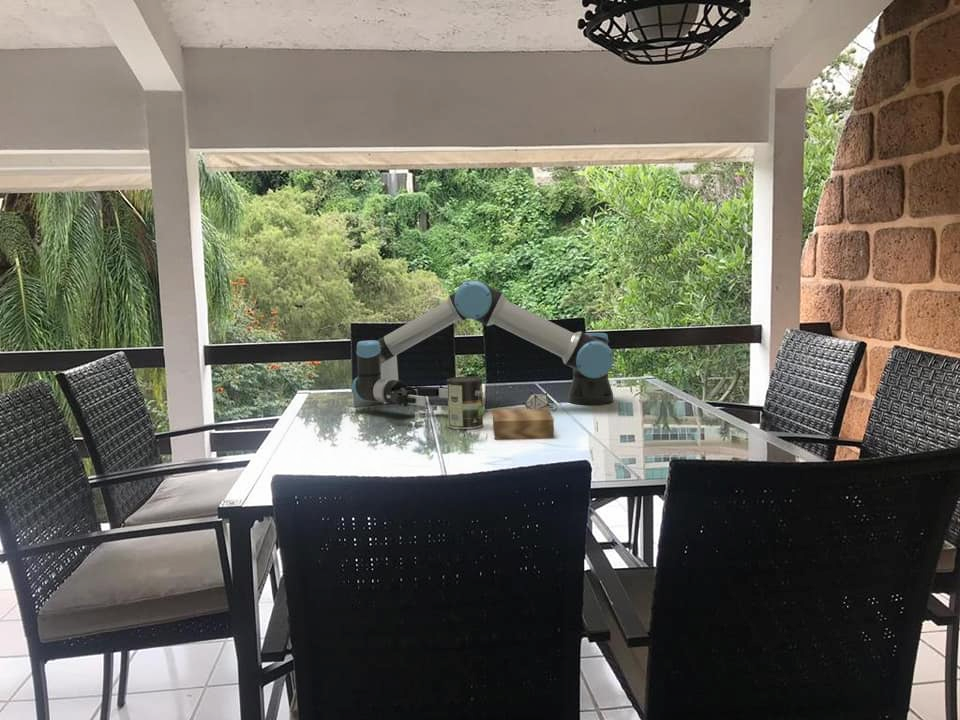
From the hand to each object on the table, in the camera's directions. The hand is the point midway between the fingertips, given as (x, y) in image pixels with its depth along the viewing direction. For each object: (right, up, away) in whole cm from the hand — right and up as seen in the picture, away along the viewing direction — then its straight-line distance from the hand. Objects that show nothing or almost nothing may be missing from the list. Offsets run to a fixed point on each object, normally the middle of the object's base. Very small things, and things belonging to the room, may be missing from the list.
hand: (440, 397), depth 235 cm
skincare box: (-23, -1, +53) cm, 58 cm away
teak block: (+24, -9, -15) cm, 29 cm away
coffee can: (+8, -8, -5) cm, 12 cm away
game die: (+30, -7, +3) cm, 30 cm away
